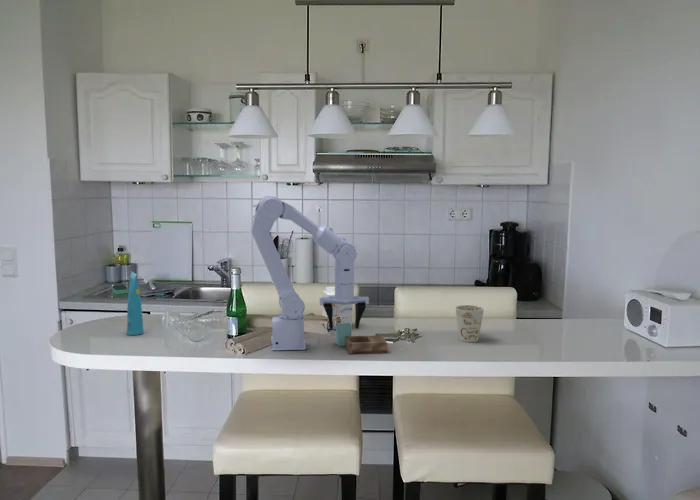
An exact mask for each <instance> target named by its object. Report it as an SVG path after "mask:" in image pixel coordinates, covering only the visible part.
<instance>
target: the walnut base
mask: <svg viewBox="0 0 700 500" xmlns="http://www.w3.org/2000/svg"><path fill="white" fill-rule="evenodd" d="M344 348H345V350H346V352H347V354H348V355H362V354H363V355H366V354H367V355H368V354H371V355H372V354H388V342H387V340H386V339H385V338H384V336H383V335H351V336H345V346H344Z"/></svg>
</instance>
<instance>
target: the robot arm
mask: <svg viewBox="0 0 700 500" xmlns="http://www.w3.org/2000/svg"><path fill="white" fill-rule="evenodd" d="M278 219H282V220H288V221H291V222H292V223H294V224H295V225H297V226H298V227H300V228H301V229H303V230H304V231H305V232H308V233H309V234H310V235H312V240H313V243H315V244H316V245H317V246H319V247H320V248H321V249H323V250H324V251H326V252H327V253H328V254H330V255H333V257H334V259H335V261H334V262H335V263H334V265H335V267H334V287H335V289H334V290H335V296H334V297H323V296H322V297H319V305H320V306H322V307H323V306H324V309H325V311H326V313H327V316H328V320H329V325H330V329H333V321H332V315H333V308H332V304H352V305H354V307H355V309H354V310H355V319H354V320H355V321H354V327H355V329H356V330H358V329H359V327H360V322H361V319H362V317H363V315H364V313H365V310H366V308H367V305H369V304H370V298H369V296H357V295H355V260H356V259H357V256H358V253H357V251H356V248H355V246H354V245H352V244H351V243H348V242H347V241H346V238H345V237H343V236H342V237H341V236H340V235H338V233H335V232H334V228H332V227H331V226H327V225H322V226H318V225H317V224H316V223H315V222H313V221H312V220H311V219H309V218H308V217H307V216H306V215H304V214H303V212H301V211H300V210H298V209H297V208H296V207H295V206H292V205H291V204H289V203H287V202H285V201H283V200H281V199H280V198H278V197H276V196H273V195H271V196H270V195H267V196H263V197H262V198H261V199H260V200H259V202H258V203H257V205H256V206H255V209H254V214H253V220H252V225H251V229H250V230H251V234H252V237H253V239H254V241H255V243H256V245H257V248H258V250H259V252H260V254H261V258H262V259H263V262H264V264H265V266H266V269H267V271H268V273H269V275H270V278H271V280H272V282H273V284H274V287H275V289H276V291H277V294H278V297H279V298H278V299H279V300H278V304H279V306H280V308H281V309H282V310H280V313H279V314H278V316H273V317H272V323H271V324H272V326H271V327H272V329H271V330H272V331H271V334H272V335H271V336H270V338H271V339H270V342H271V344H272V346H271V347H272V349H271V350H272V351H298V350H300V351H301V350H306V349H307V346H306V341H305V314H304V312H305V309H306V308H305V307H306V305H305V303H304V300H303V299H302V298H301V297H300V295H299V294H298V293H297V292H296V290H295V288H294V287H293V284H292V282H291V280H290V277H289V275H288V273H287V271H286V268H285V265H284V264H283V261H282V259H281V257H280V254H279V252H278V249H277V248H276V247H277V246H276V245H275V242H274V241H273V238H272V235H271V231H272V229H273V226H274V223H275V222H276V221H277V220H278Z"/></svg>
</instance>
